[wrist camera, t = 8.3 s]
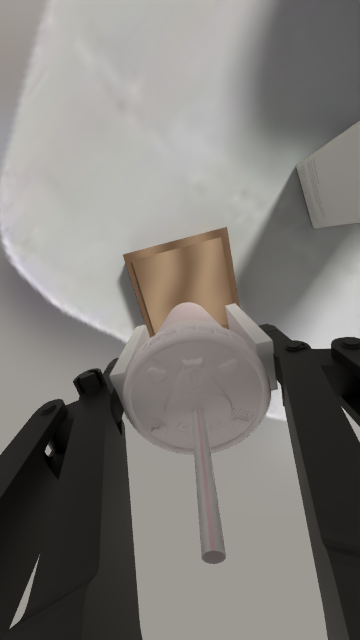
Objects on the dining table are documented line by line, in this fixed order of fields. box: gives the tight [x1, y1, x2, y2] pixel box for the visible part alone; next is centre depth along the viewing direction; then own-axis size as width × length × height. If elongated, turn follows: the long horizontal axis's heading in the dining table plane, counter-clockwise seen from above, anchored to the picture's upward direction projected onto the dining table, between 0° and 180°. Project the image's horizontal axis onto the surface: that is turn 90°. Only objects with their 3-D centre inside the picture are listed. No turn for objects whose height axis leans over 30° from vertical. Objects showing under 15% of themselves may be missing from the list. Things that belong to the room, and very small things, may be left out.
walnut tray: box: [123, 227, 239, 338], centre depth 30 cm, size 14×14×4 cm
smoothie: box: [123, 302, 271, 564], centre depth 11 cm, size 6×6×14 cm
